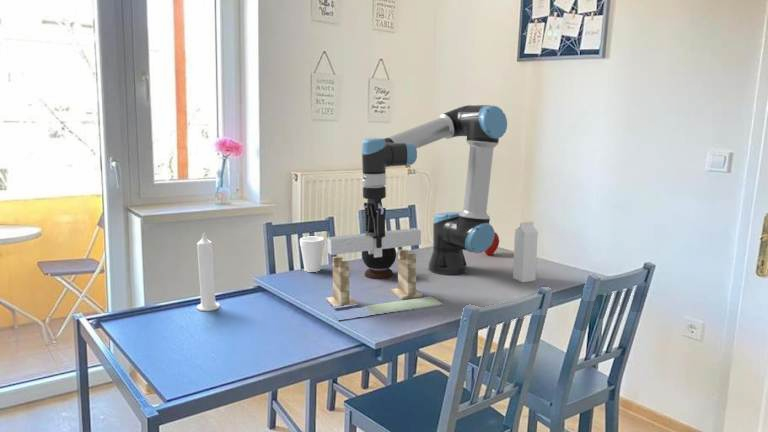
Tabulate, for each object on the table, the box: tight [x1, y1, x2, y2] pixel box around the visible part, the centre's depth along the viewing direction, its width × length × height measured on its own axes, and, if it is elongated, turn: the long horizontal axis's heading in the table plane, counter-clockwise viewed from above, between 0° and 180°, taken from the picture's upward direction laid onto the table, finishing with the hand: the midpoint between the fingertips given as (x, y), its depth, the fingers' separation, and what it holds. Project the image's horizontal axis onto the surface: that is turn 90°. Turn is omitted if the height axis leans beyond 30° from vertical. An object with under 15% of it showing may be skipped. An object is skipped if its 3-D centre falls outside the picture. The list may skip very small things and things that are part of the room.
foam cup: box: [299, 235, 325, 273], centre depth 226 cm, size 10×9×13 cm
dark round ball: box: [361, 248, 397, 280], centre depth 220 cm, size 13×13×15 cm
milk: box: [512, 221, 539, 283], centre depth 214 cm, size 6×6×22 cm
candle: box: [196, 232, 221, 312], centre depth 184 cm, size 7×7×25 cm
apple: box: [483, 232, 500, 256], centre depth 250 cm, size 9×8×11 cm
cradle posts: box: [325, 248, 424, 307], centre depth 193 cm, size 32×9×15 cm, turn 113°
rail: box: [326, 227, 422, 256], centre depth 191 cm, size 32×4×5 cm, turn 113°
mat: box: [364, 296, 444, 314], centre depth 184 cm, size 36×8×1 cm, turn 113°
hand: (375, 255), depth 192 cm, fingers closed on rail, 4 cm apart
